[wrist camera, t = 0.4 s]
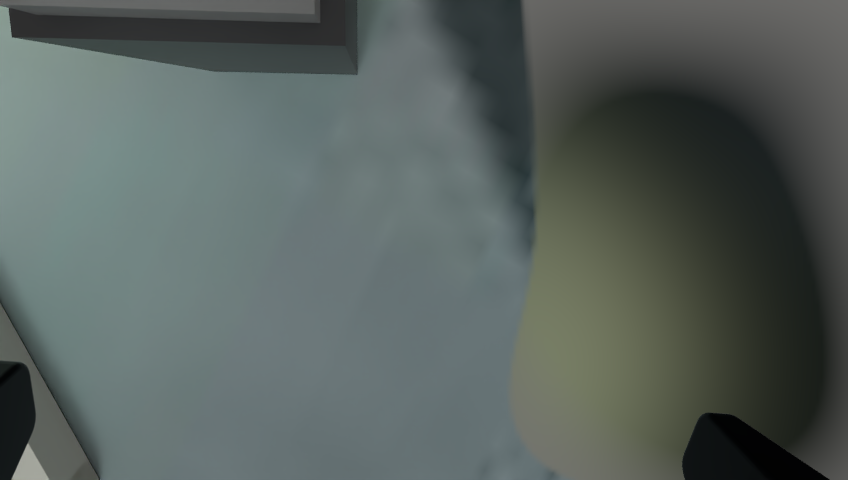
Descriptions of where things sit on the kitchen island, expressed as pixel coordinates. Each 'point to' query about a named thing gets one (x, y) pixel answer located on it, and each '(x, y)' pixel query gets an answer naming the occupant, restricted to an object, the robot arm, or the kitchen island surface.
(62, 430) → the beige divided rectangular frame
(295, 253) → the kitchen island surface
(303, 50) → the iec plug
